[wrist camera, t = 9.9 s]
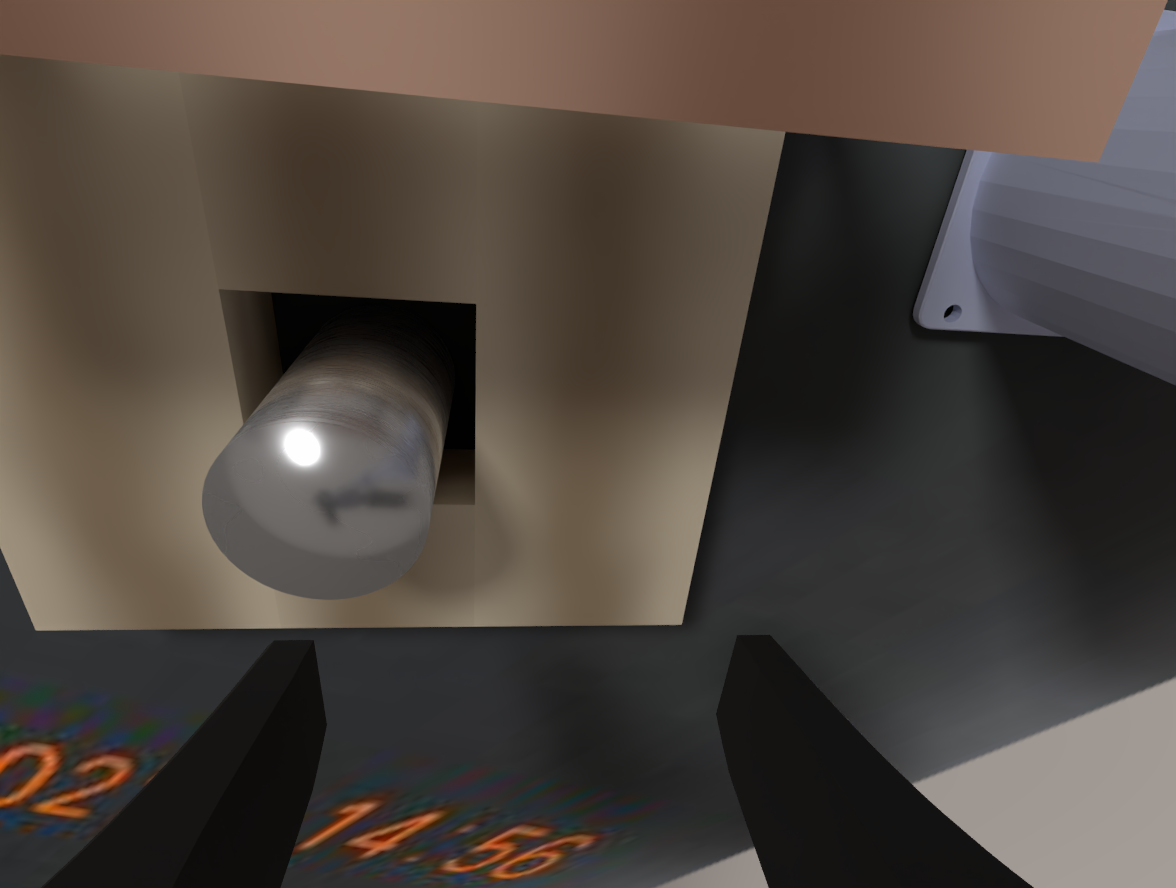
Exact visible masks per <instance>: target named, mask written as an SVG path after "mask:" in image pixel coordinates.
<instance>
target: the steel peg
mask: <svg viewBox="0 0 1176 888" xmlns="http://www.w3.org/2000/svg"><path fill="white" fill-rule="evenodd" d="M454 388H455V368H454V363H453V359H452V357H451V354H450V351H449V349H448V348H447V346H446V344H445V342H444V341H443V340H442V338H441V337H440V335H439V334H438V333H437V332H436V331H435V330H434V329H433V328H432V327H431V326H430V325H429V324H427V323H426V322H425V321H423V320H422V319H420V318H419V317H417V316H415V315H413V314H411V313H410V312H407V311H405V310H402V309H399V308H395V307H391V306H385V305H363V306H357V307H354V308H350V309H347V310H345V311H343V312H340V313H339V314H337V315H335V316H334V317H332V318H331V319H330V320H329V321H327V322H326V323H325V324H324V325H323V326H322V328H321V329H320V330H319V331H318V332H317V334H316V335H315V336H314V337H313V339H312V340H311V341H310V342H309V344H308V345H307V346H306V347H305V349H304V350H303V351H302V352H301V354H300V355H299V356H298V357H297V358H296V360H295V361H294V362H293V363H292V365H291V366H290V367H289V368H288V370H287V371H286V372H285V373H284V375H283V376H282V377H281V378H280V380H279V381H278V382H277V383H276V385H275V386H274V387H273V388H272V390H271V391H270V392H269V393H268V395H267V396H266V397H265V398H264V400H263V401H262V402H261V403H260V405H259V406H258V407H257V408H256V409H255V411H254V412H253V413H252V414H251V416H250V417H249V418H248V419H247V421H246V422H245V423H244V424H243V426H242V427H241V428H240V429H239V431H238V432H237V433H236V434H235V436H234V437H233V438H232V439H231V441H230V442H229V443H228V444H227V446H226V447H225V448H224V449H223V451H222V452H221V453H220V454H219V456H218V457H217V458H216V459H215V461H214V463H213V464H212V466H211V467H210V469H209V471H208V474H207V476H206V478H205V481H204V486H203V491H202V509H203V516H204V519H205V522H206V526H207V528H208V530H209V533H210V535H211V537H212V539H213V540H214V542H215V543H216V545H217V546H218V548H219V549H220V551H221V552H222V553H223V554H224V555H225V556H226V557H227V559H228V560H229V561H230V562H232V563H233V564H234V565H235V566H236V567H237V568H238V569H240V570H241V571H242V572H244V573H245V574H246V575H248V576H249V577H251V578H253V579H254V580H256V581H258V582H260V583H261V584H263V585H266V586H268V587H270V588H272V589H275V590H277V591H280V592H283V593H286V594H290V595H294V596H298V597H303V598H310V599H322V600H335V599H347V598H353V597H358V596H362V595H366V594H369V593H372V592H375V591H377V590H380V589H382V588H384V587H386V586H388V585H390V584H391V583H393V582H394V581H396V580H397V579H399V578H400V577H401V576H402V575H403V574H404V573H406V572H407V571H408V570H409V569H410V568H411V566H412V565H413V564H414V563H415V562H416V560H417V558H418V557H419V555H420V553H421V552H422V549H423V547H424V545H425V542H426V538H427V534H428V529H429V524H430V518H431V513H432V507H433V502H434V496H435V491H436V486H437V480H438V475H439V469H440V464H441V459H442V453H443V448H444V442H445V437H446V431H447V426H448V421H449V415H450V410H451V404H452V399H453V393H454Z"/></svg>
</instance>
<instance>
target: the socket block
mask: <svg viewBox="0 0 1176 888" xmlns="http://www.w3.org/2000/svg"><path fill="white" fill-rule="evenodd" d="M1167 1H1168V0H0V548H1V550H2V552H3V555H4V557H5V559H6V562H7V564H8V566H9V569H10V571H11V573H12V576H13V578H14V581H15V583H16V585H17V588H18V590H19V592H20V595H21V597H22V599H23V602H24V604H25V606H26V609H27V611H28V613H29V616H30V618H31V620H32V623H33V625H34V627H35V630H143V629H256V628H370V627H484V626H597V625H682V621H683V616H684V611H685V607H686V602H687V597H688V592H689V588H690V583H691V578H692V573H693V569H694V564H695V559H696V554H697V550H698V545H699V540H700V535H701V531H702V526H703V521H704V516H705V512H706V507H707V502H708V497H709V493H710V488H711V483H712V478H713V474H714V469H715V464H716V460H717V455H718V450H719V445H720V441H721V436H722V431H723V426H724V422H725V417H726V412H727V407H728V403H729V398H730V393H731V388H732V384H733V379H734V374H735V369H736V365H737V360H738V355H739V350H740V346H741V341H742V336H743V331H744V327H745V322H746V317H747V312H748V308H749V303H750V298H751V293H752V289H753V284H754V279H755V274H756V270H757V265H758V260H759V256H760V251H761V246H762V241H763V237H764V232H765V227H766V222H767V218H768V213H769V208H770V203H771V199H772V194H773V189H774V184H775V180H776V175H777V170H778V165H779V161H780V156H781V151H782V146H783V142H784V137H785V132H793V133H804V134H814V135H824V136H834V137H844V138H854V139H865V140H875V141H885V142H895V143H905V144H915V145H925V146H936V147H946V148H956V149H966V150H976V151H986V152H997V153H1007V154H1017V155H1027V156H1037V157H1047V158H1058V159H1068V160H1078V161H1088V162H1099V160H1100V158H1101V155H1102V153H1103V151H1104V148H1105V146H1106V143H1107V141H1108V139H1109V136H1110V134H1111V132H1112V129H1113V127H1114V125H1115V122H1116V120H1117V118H1118V115H1119V113H1120V111H1121V108H1122V106H1123V104H1124V101H1125V99H1126V97H1127V94H1128V92H1129V90H1130V87H1131V85H1132V83H1133V80H1134V78H1135V76H1136V73H1137V71H1138V69H1139V66H1140V64H1141V62H1142V59H1143V57H1144V55H1145V52H1146V50H1147V47H1148V45H1149V43H1150V40H1151V38H1152V36H1153V33H1154V31H1155V29H1156V26H1157V24H1158V22H1159V19H1160V17H1161V15H1162V12H1163V10H1164V8H1165V5H1166V3H1167ZM271 292H277V293H294V294H312V295H329V296H347V297H365V298H382V299H400V300H417V301H435V302H452V303H470V304H476V418H475V450H468V449H443V453H442V459H441V464H440V469H439V475H438V480H437V486H436V491H435V496H434V502H433V507H432V513H431V518H430V524H429V529H428V534H427V538H426V542H425V545H424V547H423V549H422V552H421V553H420V555H419V557H418V558H417V560H416V562H415V563H414V564H413V565H412V566H411V568H410V569H409V570H408V571H407V572H406V573H404V574H403V575H402V576H401V577H400V578H399V579H397V580H396V581H394V582H393V583H391V584H390V585H388V586H386V587H384V588H382V589H380V590H377V591H375V592H372V593H369V594H366V595H362V596H358V597H353V598H347V599H335V600H322V599H310V598H303V597H298V596H294V595H290V594H286V593H283V592H280V591H277V590H275V589H272V588H270V587H268V586H266V585H263V584H261V583H260V582H258V581H256V580H254V579H253V578H251V577H249V576H248V575H246V574H245V573H244V572H242V571H241V570H240V569H238V568H237V567H236V566H235V565H234V564H233V563H232V562H230V561H229V560H228V559H227V557H226V556H225V555H224V554H223V553H222V552H221V551H220V549H219V548H218V546H217V545H216V543H215V542H214V540H213V539H212V537H211V535H210V533H209V530H208V528H207V526H206V522H205V519H204V516H203V509H202V491H203V486H204V481H205V478H206V476H207V474H208V471H209V469H210V467H211V466H212V464H213V463H214V461H215V459H216V458H217V457H218V456H219V454H220V453H221V452H222V451H223V449H224V448H225V447H226V446H227V444H228V443H229V442H230V441H231V439H232V438H233V437H234V436H235V434H236V433H237V432H238V431H239V429H240V428H241V427H242V426H243V424H244V423H245V422H246V421H247V419H248V418H249V417H250V416H251V414H252V413H253V412H254V411H255V409H256V408H257V407H258V406H259V405H260V403H261V402H262V401H263V400H264V398H265V397H266V396H267V395H268V393H269V392H270V391H271V390H272V388H273V387H274V386H275V385H276V383H277V382H278V381H279V380H280V378H281V377H282V376H283V370H282V363H281V356H280V349H279V342H278V336H277V329H276V322H275V315H274V308H273V301H272V294H271Z"/></svg>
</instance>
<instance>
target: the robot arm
mask: <svg viewBox="0 0 1176 888" xmlns="http://www.w3.org/2000/svg"><path fill="white" fill-rule="evenodd" d="M951 305H954V306H953V311H952V313H951V314H950V315H949V316H948V317H946V318H944V313H945V311H946V309H947V308H948V307H950V306H951ZM913 317H914V320H915V321H916V322H917V323H918V324H919V325H921V326H922V327H924V328H928V329H937V330H955V331H972V332H990V333H1007V334H1025V335H1042V336H1060V337H1066V338H1068V339H1071V340H1073V341H1075V342H1077V343H1080V344H1082V345H1084V346H1087V347H1089V348H1091V349H1093V350H1096V351H1098V352H1100V353H1103V354H1105V355H1107V356H1109V357H1112V358H1114V359H1116V360H1118V361H1121V362H1123V363H1125V364H1128V365H1130V366H1132V367H1134V368H1137V369H1139V370H1141V371H1144V372H1146V373H1148V374H1150V375H1153V376H1155V377H1157V378H1159V379H1162V380H1164V381H1166V382H1169V383H1171V384H1173V385H1175V386H1176V12H1175V11H1168V10H1163V12H1162V15H1161V17H1160V19H1159V22H1158V24H1157V26H1156V29H1155V31H1154V33H1153V36H1152V38H1151V40H1150V43H1149V45H1148V47H1147V50H1146V52H1145V55H1144V57H1143V59H1142V62H1141V64H1140V66H1139V69H1138V71H1137V73H1136V76H1135V78H1134V80H1133V83H1132V85H1131V87H1130V90H1129V92H1128V94H1127V97H1126V99H1125V101H1124V104H1123V106H1122V108H1121V111H1120V113H1119V115H1118V118H1117V120H1116V122H1115V125H1114V127H1113V129H1112V132H1111V134H1110V136H1109V139H1108V141H1107V143H1106V146H1105V148H1104V151H1103V153H1102V155H1101V158H1100V160H1099V162H1088V161H1078V160H1068V159H1058V158H1047V157H1037V156H1027V155H1017V154H1007V153H997V152H986V151H976V150H967V151H966V154H965V157H964V160H963V163H962V166H961V169H960V172H959V174H958V177H957V180H956V183H955V186H954V189H953V192H952V195H951V198H950V201H949V204H948V207H947V210H946V213H945V216H944V219H943V222H942V225H941V228H940V231H939V234H938V237H937V240H936V243H935V246H934V249H933V252H932V255H931V258H930V261H929V264H928V267H927V270H926V273H925V276H924V279H923V282H922V285H921V288H920V291H919V294H918V297H917V300H916V303H915V306H914V310H913ZM716 715H717V720H718V725H719V730H720V734H721V739H722V744H723V748H724V753H725V757H726V761H727V765H728V770H729V773H730V776H731V780H732V783H733V786H734V789H735V791H736V794H737V797H738V800H739V803H740V806H741V809H742V812H743V815H744V818H745V821H746V824H747V827H748V829H749V832H750V835H751V838H752V841H753V844H754V847H755V849H756V852H757V855H758V858H759V861H760V864H761V867H762V870H763V872H764V875H765V878H766V881H767V884H768V887H769V888H1033V887H1032V886H1031V885H1030V884H1028V883H1027V882H1026V881H1024V880H1023V879H1022V878H1021V877H1019V876H1018V875H1017V874H1015V873H1014V872H1013V871H1011V870H1010V869H1009V868H1008V867H1007V866H1005V865H1004V864H1003V863H1002V862H1000V861H999V860H998V859H997V858H995V857H994V856H992V854H990V853H989V852H988V851H987V850H985V849H984V848H983V847H982V846H981V845H980V844H978V843H977V842H976V841H975V840H974V839H973V838H971V837H970V836H969V835H968V834H967V833H966V832H964V831H963V830H962V829H961V828H960V827H959V826H957V825H956V824H955V823H954V822H953V821H952V820H950V819H949V818H948V817H947V816H946V815H944V814H943V813H942V812H941V811H940V810H939V809H938V808H937V807H936V806H934V805H933V804H932V803H931V802H930V801H929V800H928V799H927V798H926V797H925V796H924V795H922V794H921V793H920V792H919V791H918V790H917V789H916V788H915V787H914V786H913V785H912V784H911V783H910V782H909V781H908V780H907V779H906V778H905V777H904V776H902V775H901V774H900V773H899V772H898V771H897V770H896V769H895V768H894V767H893V766H892V765H891V764H890V763H889V762H888V761H887V760H886V759H885V758H884V757H883V756H882V755H881V754H880V753H879V752H878V751H877V750H876V749H875V748H874V747H873V746H872V745H871V744H870V743H869V742H868V741H867V740H866V739H865V738H864V737H863V736H862V735H861V734H860V733H859V732H858V731H857V730H856V728H855V727H854V726H853V725H852V724H851V723H850V722H849V721H848V720H847V719H846V718H845V717H844V716H843V715H842V714H841V713H840V712H839V711H838V710H837V708H836V707H835V706H834V705H833V704H832V703H831V702H830V701H829V700H828V699H827V698H826V696H825V695H824V694H823V693H822V692H821V691H820V690H819V689H818V688H817V687H816V685H815V684H814V683H813V682H812V681H811V680H810V679H809V678H808V677H807V676H806V674H805V673H804V672H803V671H802V670H801V669H800V668H799V667H798V665H797V664H796V663H795V662H794V661H793V660H792V659H791V658H790V657H789V655H788V654H787V653H786V652H785V651H784V650H783V649H782V648H781V647H780V645H779V644H778V643H777V642H776V641H775V640H774V639H773V638H772V637H771V636H770V635H737V639H736V642H735V646H734V650H733V653H732V657H731V661H730V665H729V668H728V672H727V676H726V680H725V683H724V687H723V691H722V694H721V698H720V702H719V706H718V709H717V713H716ZM326 726H327V723H326V717H325V710H324V704H323V697H322V691H321V684H320V678H319V671H318V665H317V658H316V652H315V645H314V640H288V641H274V642H272V643H271V644H270V645H269V646H268V647H267V648H266V649H265V650H264V652H263V653H262V654H261V655H260V657H259V658H258V659H257V660H256V661H255V663H254V664H253V665H252V666H251V668H250V669H249V670H248V671H247V672H246V674H245V675H244V676H243V677H242V678H241V680H240V681H239V682H238V683H237V684H236V686H235V687H234V688H233V689H232V690H231V692H230V693H229V694H228V695H227V696H226V697H225V699H224V700H223V701H222V702H221V703H220V704H219V706H218V707H217V708H216V709H215V710H214V711H213V713H212V714H211V715H210V716H209V717H208V718H207V719H206V721H205V722H204V723H203V724H202V725H201V726H200V727H199V728H198V729H197V731H196V732H195V733H194V734H193V735H192V736H191V737H190V738H189V740H188V741H187V742H186V743H185V744H184V745H183V746H182V747H181V748H180V750H179V751H178V752H177V753H176V754H175V755H174V756H173V757H172V758H171V760H170V761H169V762H168V763H167V764H166V765H165V766H164V767H163V768H162V769H161V770H160V771H159V772H158V773H157V774H156V775H155V777H154V778H153V779H152V780H151V781H150V782H149V783H148V784H147V785H146V786H145V787H144V788H143V789H142V790H141V791H140V792H139V793H138V794H137V795H136V796H135V797H134V798H133V799H132V800H131V801H130V802H129V803H128V804H127V805H126V806H125V807H124V808H123V809H122V810H121V811H120V813H119V814H118V815H117V816H116V817H115V818H114V819H113V820H112V821H111V822H110V823H109V824H108V825H107V826H106V827H105V828H104V829H103V830H102V831H101V832H99V833H98V834H97V835H96V836H95V837H94V838H93V839H92V840H91V841H90V842H89V843H88V844H87V845H86V846H85V847H84V848H83V849H82V850H81V851H80V852H79V853H78V854H77V855H76V856H75V857H73V858H72V859H71V860H70V861H69V862H68V863H67V864H66V865H65V866H64V867H63V868H62V869H61V870H60V871H58V872H57V873H56V874H55V875H54V876H53V877H52V878H51V879H50V880H49V881H48V882H46V883H45V884H44V885H43V886H42V887H41V888H280V887H281V884H282V881H283V878H284V875H285V872H286V869H287V866H288V863H289V860H290V857H291V854H292V851H293V848H294V845H295V842H296V839H297V836H298V833H299V830H300V827H301V824H302V821H303V818H304V815H305V812H306V809H307V806H308V803H309V800H310V797H311V794H312V790H313V786H314V782H315V778H316V773H317V769H318V764H319V760H320V755H321V750H322V746H323V741H324V736H325V731H326Z"/></svg>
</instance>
